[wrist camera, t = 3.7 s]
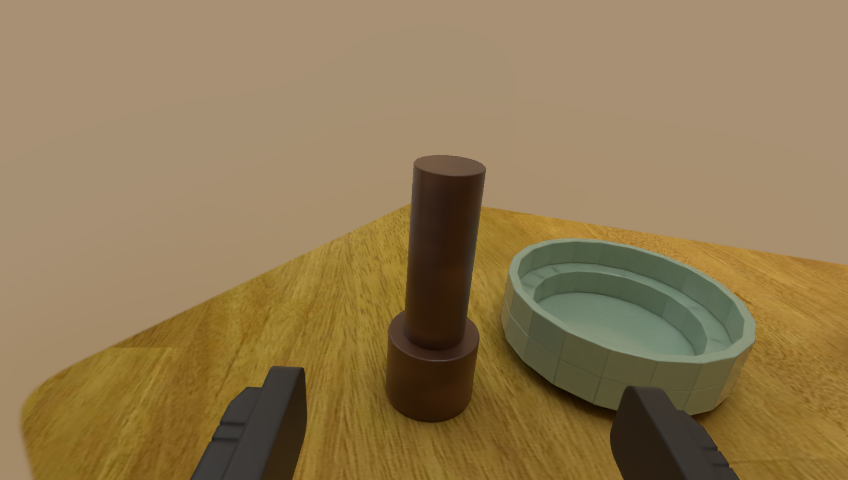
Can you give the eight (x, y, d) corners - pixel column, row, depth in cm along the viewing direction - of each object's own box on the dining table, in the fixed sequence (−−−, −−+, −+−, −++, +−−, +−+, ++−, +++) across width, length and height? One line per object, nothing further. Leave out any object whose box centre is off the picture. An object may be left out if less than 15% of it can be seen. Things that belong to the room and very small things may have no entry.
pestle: (382, 419, 24) (392, 177, 18) (388, 358, 28) (398, 147, 22) (475, 424, 24) (513, 185, 18) (467, 362, 28) (495, 154, 22)
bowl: (521, 422, 24) (536, 354, 22) (487, 283, 37) (495, 232, 35) (784, 435, 24) (821, 369, 23) (660, 293, 37) (677, 244, 35)
